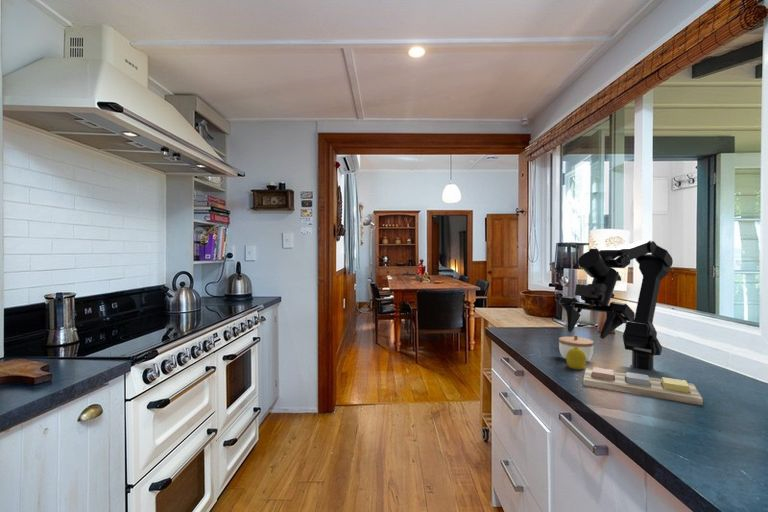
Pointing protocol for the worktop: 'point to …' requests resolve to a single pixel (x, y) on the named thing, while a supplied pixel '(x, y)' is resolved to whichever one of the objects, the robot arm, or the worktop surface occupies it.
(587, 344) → the lidded jar
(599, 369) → the clay button
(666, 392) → the button board
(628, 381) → the grey button
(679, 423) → the worktop surface
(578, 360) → the lemon
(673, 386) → the yellow button
